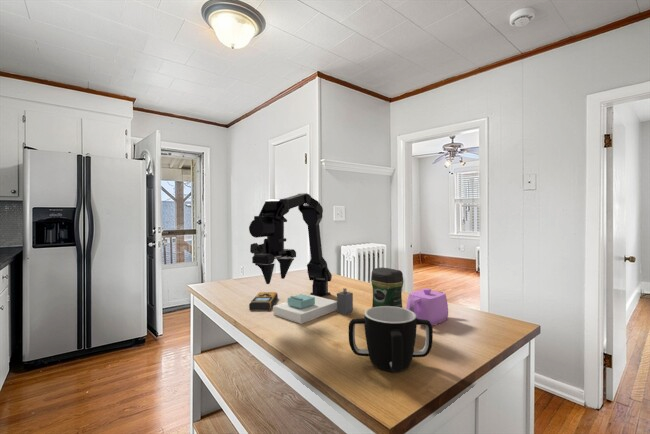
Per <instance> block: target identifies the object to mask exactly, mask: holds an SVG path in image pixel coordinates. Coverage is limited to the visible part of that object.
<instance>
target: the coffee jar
mask: <svg viewBox="0 0 650 434" xmlns="http://www.w3.org/2000/svg"><path fill="white" fill-rule="evenodd" d="M370 277H371V278H370V282H371V286H372V288H371V289H372V303H371V304H372V307H371V308H373V307H379V306H394V307H400V308H403V301H402V298H403V297H402V289H403V286H404V274H403V272H402V271H401V270H399V269H394V268H389V267H376V268H373V269H372V272H371V276H370Z"/></svg>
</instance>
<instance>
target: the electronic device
mask: <svg viewBox="0 0 650 434" xmlns="http://www.w3.org/2000/svg"><path fill="white" fill-rule="evenodd" d="M277 300H278V292H275V291H274V292H273V291H268V292H267V291H266V292H264V291H263V292H262V291H261V292H258V293H257V295H256V296H255V297H253V299H252V300H251V301H250V303H249V305H248V309H249V311H269V310H271V308H273V306H274V304H275V303H276V301H277Z"/></svg>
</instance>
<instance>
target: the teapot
mask: <svg viewBox="0 0 650 434" xmlns="http://www.w3.org/2000/svg"><path fill="white" fill-rule="evenodd" d="M406 301H407V302H406V307H405V309H408V310H410V311H412V312H414V313H415V314H416V316H417V319H423V320H428V321H429V322H430V323H431V325H432V327H434V326H436V325H435V324H437V325H439V324H442V323H444V322H446V321H447V320H448V318H449V304H448V299H447V295H446V293H444V292H442V291H435V290H432V289H431V288H427V287H425V288H422V289H420V290H415V291H412V292H410V293H408V296H407V300H406ZM446 319H447V320H446ZM443 321H444V322H443ZM441 322H442V323H441ZM438 323H439V324H438Z"/></svg>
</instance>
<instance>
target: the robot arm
mask: <svg viewBox="0 0 650 434" xmlns="http://www.w3.org/2000/svg"><path fill="white" fill-rule="evenodd" d="M294 208H298V211H299V212H300V214H301V215H302V220H303V222H305V224H306V226H307V232H308V233H307V234H308V241H309V253H310V260H309V262H308V263H306V264H307V265H306V268H307V272H306V273H307V275H308V280H309V281H312V286H311V287H312V292H310V293H309V295H314V296H318V297H322V298H323V297H325V296H328V295H331V292H329V282H331V281H332V277H333V275H332V273H331V271H330V269H329V267H328V262H327V261H326V259H325V258H324V257H323V248H322V239H321V238H322V237H321V228H320V224H321V221H322V219H323V213H324V209H323V206H322V205H321V203H320V202H319V201H318V200H317V199H314V197H312V196H311V195H310V194H309V193H307V192H306V193H297V194H295V195H292V196H289V197H284V198H269V199H268V198H267V199H266V200H265V201H264V204H263V206H262V208H261V210H260V211H259V214H258V215H254V216H253V220H252V221H251V222H250V223H249V227H248V232H249V234H250V235H251V236H252V237H253V238H256V239H257V238H264V239H263V243H261V244H259V243H257V242H254V243H251V244H250V250H249V251H250V253H251V254H252V255H253V256H252V257H251V259H252V262H251V263H252V264H255V266H257V267H258V268H259V269H260V270H261V272H262V275H263V279H264V281H265V284H266V285H270V284H271V281H272V277H273V273H274V269H275V264H276V263H274V261H275V260H276V261H277V262H278V263H279V271H280V273H279V274H280V278H281V279H282V280H284V279H285V278H286V276H287V273H288V271H289V270H290V267H291V265H292V263H293V261H294V260H295V258H297V251H296V250H295V249H292V248H285V242H287V238H285V223H287V222H288V219H287V218H286V217H285V216H286V215H287V214H288V213H289V212H290V210H292V209H294ZM265 237H266V238H265Z"/></svg>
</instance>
